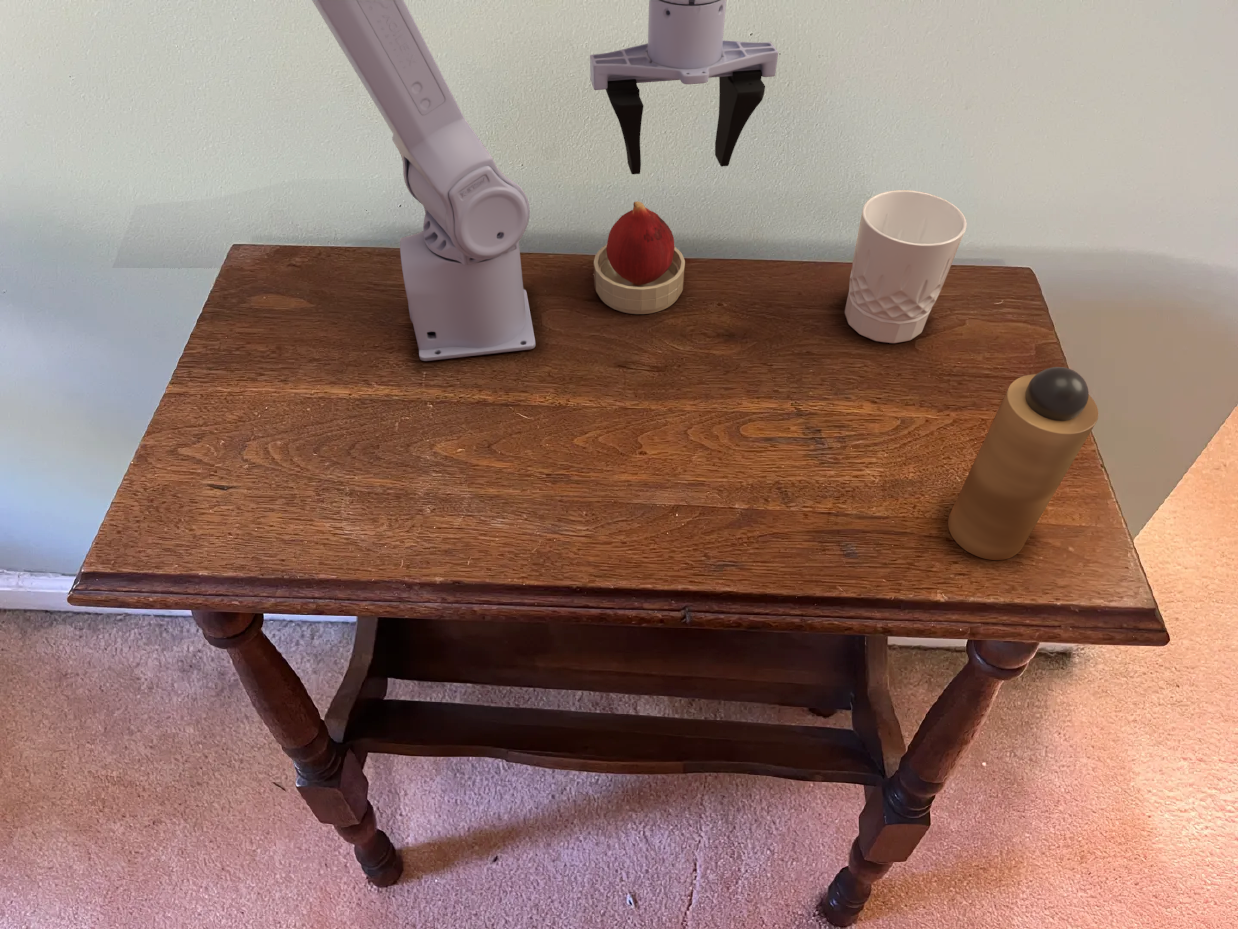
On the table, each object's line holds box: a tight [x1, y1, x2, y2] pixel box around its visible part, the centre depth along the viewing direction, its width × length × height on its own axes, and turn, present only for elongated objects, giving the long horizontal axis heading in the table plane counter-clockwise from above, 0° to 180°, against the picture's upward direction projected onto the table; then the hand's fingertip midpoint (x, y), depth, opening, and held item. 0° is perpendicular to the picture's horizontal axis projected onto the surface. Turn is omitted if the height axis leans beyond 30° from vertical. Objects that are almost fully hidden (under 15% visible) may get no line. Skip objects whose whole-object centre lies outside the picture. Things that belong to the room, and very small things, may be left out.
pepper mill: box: [947, 366, 1099, 561], centre depth 53 cm, size 5×5×14 cm
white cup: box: [844, 189, 968, 344], centre depth 70 cm, size 8×8×10 cm
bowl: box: [593, 244, 686, 315], centre depth 75 cm, size 8×8×3 cm
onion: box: [606, 200, 676, 286], centre depth 73 cm, size 6×6×8 cm
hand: (678, 164), depth 72 cm, fingers open, 7 cm apart
